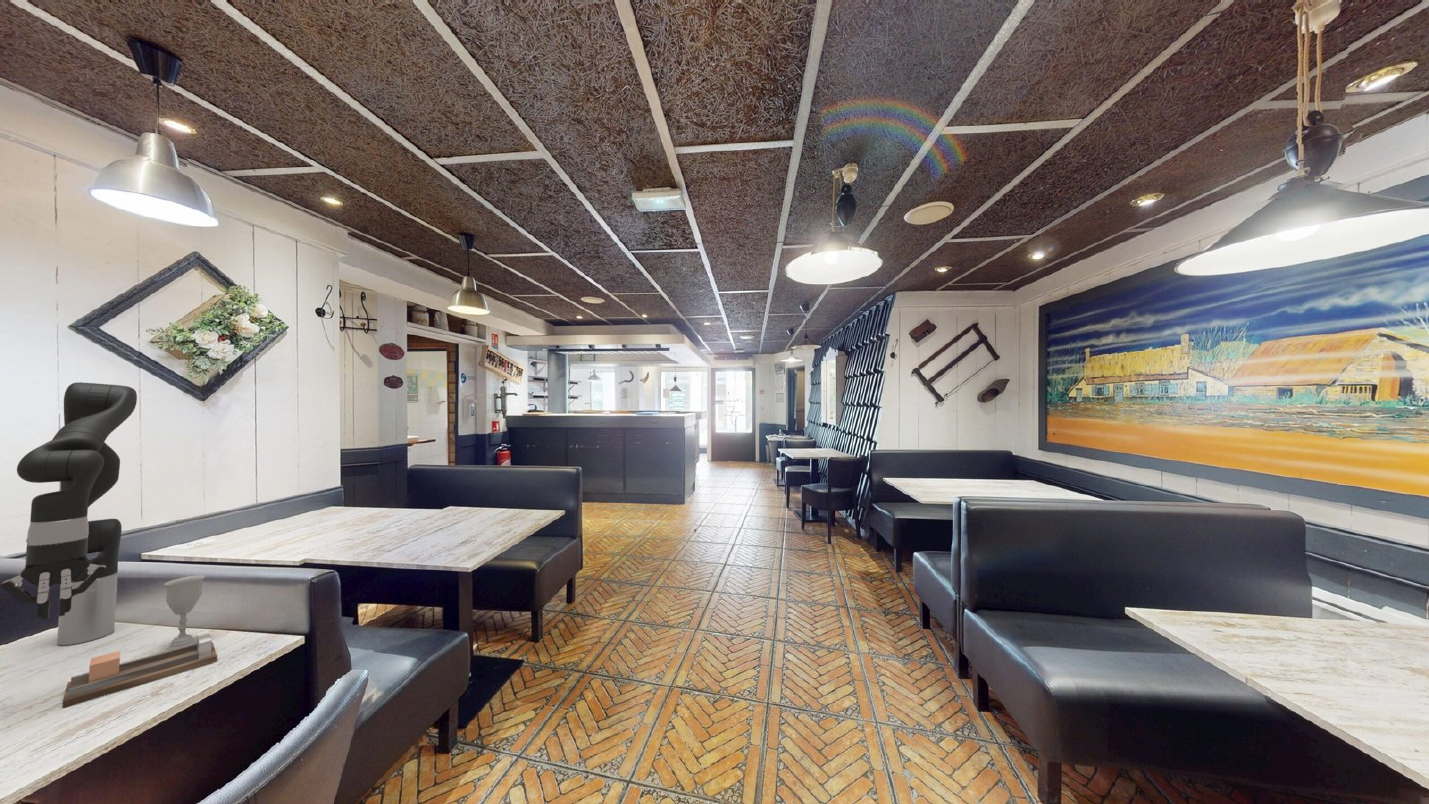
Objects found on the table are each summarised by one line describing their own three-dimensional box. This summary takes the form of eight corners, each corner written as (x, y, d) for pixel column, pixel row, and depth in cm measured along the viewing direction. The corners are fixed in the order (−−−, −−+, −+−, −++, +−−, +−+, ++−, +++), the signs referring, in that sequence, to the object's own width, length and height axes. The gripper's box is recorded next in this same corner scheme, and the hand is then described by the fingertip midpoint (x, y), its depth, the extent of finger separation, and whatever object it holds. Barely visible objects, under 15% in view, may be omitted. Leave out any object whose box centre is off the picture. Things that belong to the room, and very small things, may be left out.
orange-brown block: (89, 679, 100) (91, 658, 100) (119, 671, 103) (120, 650, 103) (88, 688, 97) (89, 665, 97) (118, 679, 100) (119, 657, 100)
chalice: (176, 653, 114) (180, 585, 115) (152, 652, 114) (155, 585, 115) (209, 638, 121) (212, 575, 122) (186, 638, 121) (189, 575, 122)
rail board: (67, 688, 99) (68, 664, 99) (212, 647, 117) (213, 627, 117) (62, 708, 92) (63, 682, 93) (216, 661, 110) (217, 640, 110)
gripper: (111, 529, 103) (107, 601, 102) (2, 543, 92) (-3, 623, 91) (110, 535, 99) (106, 610, 98) (-5, 549, 88) (-10, 634, 87)
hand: (53, 616), depth 95 cm, fingers closed
